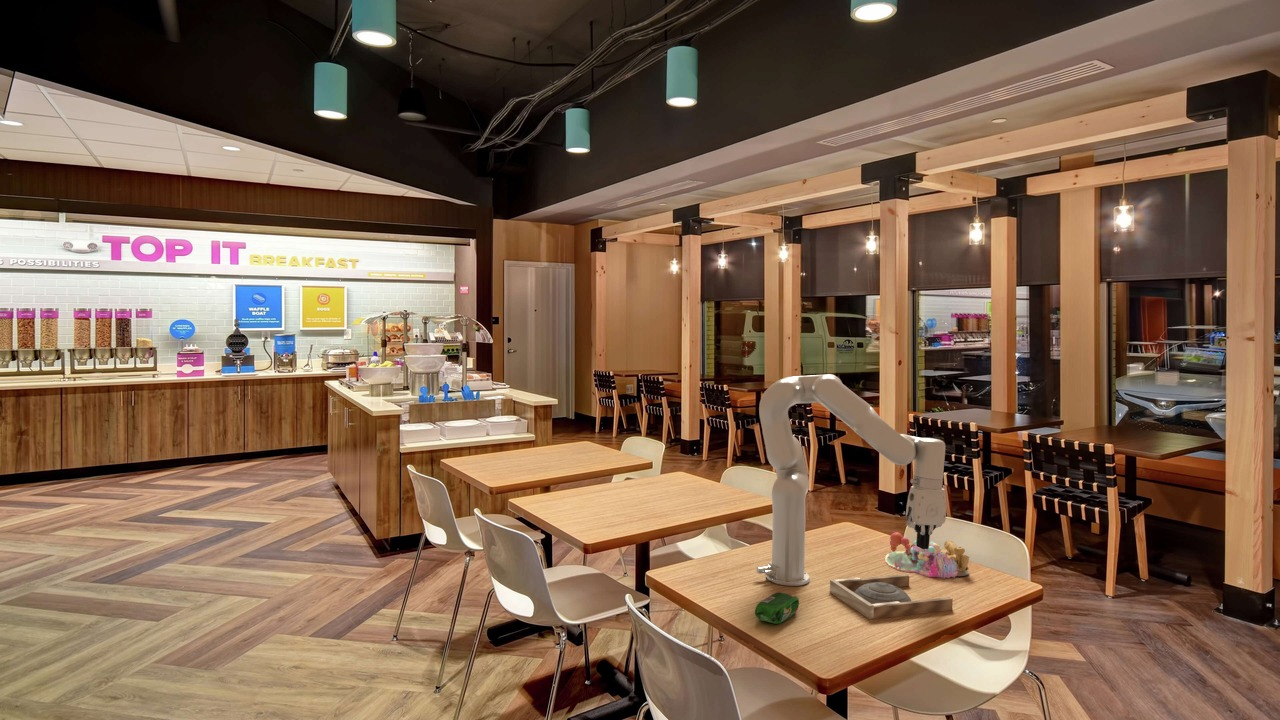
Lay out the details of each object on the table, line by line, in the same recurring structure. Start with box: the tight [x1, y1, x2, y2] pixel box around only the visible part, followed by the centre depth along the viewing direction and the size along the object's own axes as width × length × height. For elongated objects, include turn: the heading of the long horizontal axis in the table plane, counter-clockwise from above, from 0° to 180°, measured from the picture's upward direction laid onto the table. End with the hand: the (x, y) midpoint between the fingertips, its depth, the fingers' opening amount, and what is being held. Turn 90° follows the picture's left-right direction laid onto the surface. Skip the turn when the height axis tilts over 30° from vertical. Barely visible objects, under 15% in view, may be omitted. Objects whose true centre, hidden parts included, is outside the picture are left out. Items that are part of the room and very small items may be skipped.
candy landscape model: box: [884, 531, 970, 580], centre depth 221 cm, size 25×24×9 cm
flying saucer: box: [853, 582, 912, 604], centre depth 191 cm, size 15×15×6 cm
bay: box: [829, 573, 954, 620], centre depth 192 cm, size 25×19×4 cm
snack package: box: [754, 591, 800, 625], centre depth 180 cm, size 7×16×5 cm, turn 141°
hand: (922, 547), depth 195 cm, fingers closed
